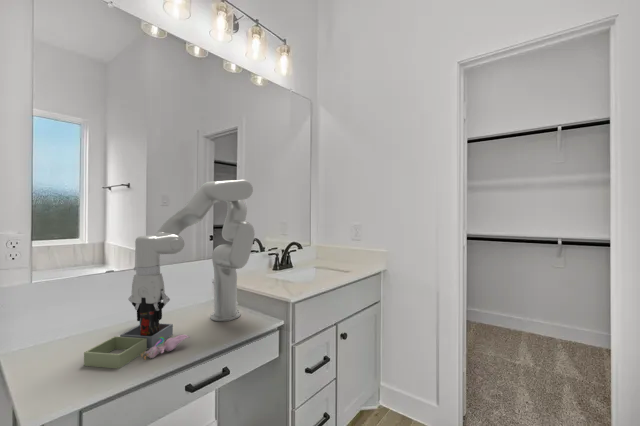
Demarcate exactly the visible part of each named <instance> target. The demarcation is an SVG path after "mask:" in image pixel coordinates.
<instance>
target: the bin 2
mask: <svg viewBox="0 0 640 426" xmlns="http://www.w3.org/2000/svg"><path fill="white" fill-rule="evenodd" d="M173 327H174V326H173V323H160V322H159V332H158V333H156V334H154V335H153V336H140V324H138V325H136V326H134V327H133V328H131V329H129V330H127V331H124V332H123V333H122V334H119V335H120V336H119V337H133V338H147V350H149V349H150V348H152V347H154V346H155V345H156V343H157V342H158V341H159V340H160V339H159V338H160V337H163V338H164V341H166V340H167V339H169V338H171V336H173V335H174V330H173V329H174V328H173Z"/></svg>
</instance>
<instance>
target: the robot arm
mask: <svg viewBox="0 0 640 426" xmlns="http://www.w3.org/2000/svg"><path fill="white" fill-rule="evenodd" d="M253 192H254V189H253V185H252V183H251V181H249V180H247V179H236V180H235V179H234V180H233V179H232V180H215V181H207V182H204V183H203V184H201V186H199V188H198V189H196V191H195V193H194V194H193V195H192V196H191V197H190V199H189V200H188V201H187V202H186V204H185V205H184V206H183V207H182V208H181V209H180V210H178V211H177V212H176V213H174V214H173V215H172V216H171V217H169V218H168V219H167V220H166V221H165V222H164V223H163V224H162V225H161V226H160V227H159V229H158V230H157V231H156V232H155V234H154V235H141V236H137V237H136V238H135V241H134V242H135V244H134V247H135V248H134V251H135V266H134V267H133V271H134V272H135V274H134V275H133V277H132V283H131V295H130V296H129V297H128V301H129V302H130V303H131V304H132V306H133V307H134V309H135V311H136V321H137V322H140V303H141V298H146V303H147V304H154V307H155V309H156V311H154V321H155V322H157V321H159V322H160V320H162V319H163V318H162V317H163V309H164V308H165V306H166V305H167V304H168V303H169V302H170V301H171V298H170V297H169V296H168V295H167V293H166V291H165V283H164V278H163V277H164V276H163V273H161V259H160V258H161V255H176V254H179V253H180V252H182V251H183V249H184V247H185V240H184V239H183V237H182V236H180V234H181V233H182V232H183V231H184V230H186V229H188V228H189V227H192V226H194V225H196V224H198V223H200V222H202V220H203V219H204V218H205V217H206V215H207V214H208V212H209V211H210V210H211V209H212V207H213V206H214V205H215V204H216V203H226V205H227V210H226V211H227V212H226V216H225V219H224V223H223V226H222V230H221V236H222V239H224V240H225V241H226V242H231V243H232V244H225V243H223V244H220V245H218V246H216V247H214V249H213V251H212V253H211V254H212V255H211V261H212V266H213V277H214V279H213V282H214V283H213V285H214V286H213V295H214V296H213V312H211V313H210V317H209V318H210V319H211V321H216V322H229V321H233V320H236V319H238V318H239V317H240V316H241V311H240V310H238V309H237V307H238V306H239V302H238V295H237V294H238V272H237V270H240V269H242V268H244V267H245V266H246V265H247V263H248V262H249V258H250V256H251V253H252V252H251V251H252V247H253V243H254V240H255V234H256V233H255V228H254V226H253V225H252V223H250V222H247V221H246V218H247V213H248V207H247V205H246V202H245V200H247V199H249V198H251V196H252V194H253ZM158 305H159V306H158Z"/></svg>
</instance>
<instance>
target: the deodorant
mask: <svg viewBox="0 0 640 426" xmlns="http://www.w3.org/2000/svg"><path fill="white" fill-rule="evenodd" d="M158 306H159V305H158ZM154 311H156V309H155V307H154V304H147V303H146V298H141V303H140V321H139V325H140V336H153V335H154V334H156V333H158V332H159V323H160V320H159V321H157V322H155V321H154Z"/></svg>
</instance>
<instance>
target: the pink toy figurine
mask: <svg viewBox="0 0 640 426" xmlns="http://www.w3.org/2000/svg"><path fill="white" fill-rule="evenodd" d="M188 338H190V336H188V335H187V334H179V335H176V336H175V337H169V338H167V339H166V340H164V338H163V337H160V338H159V339H160V340H159V341H158V342H157V343H156V345H155V346H154V347H152V348H150V349H147V350H146V351H144V352H143V353H142V354H141V355H140V358H141V359H143V360H144V361H145V360H147V359H146V358H149V359H151V358H152V359H154V358H155V357H157V355H159V354H163V353H164V352H168V351H169V352H170V351H173V350H174V349H176V348H177V346H178V344H180V343H181V342H182V341H184V340H186V339H188ZM161 344H163V346H159V345H161ZM144 354H145V355H144ZM152 359H151V360H152Z"/></svg>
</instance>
